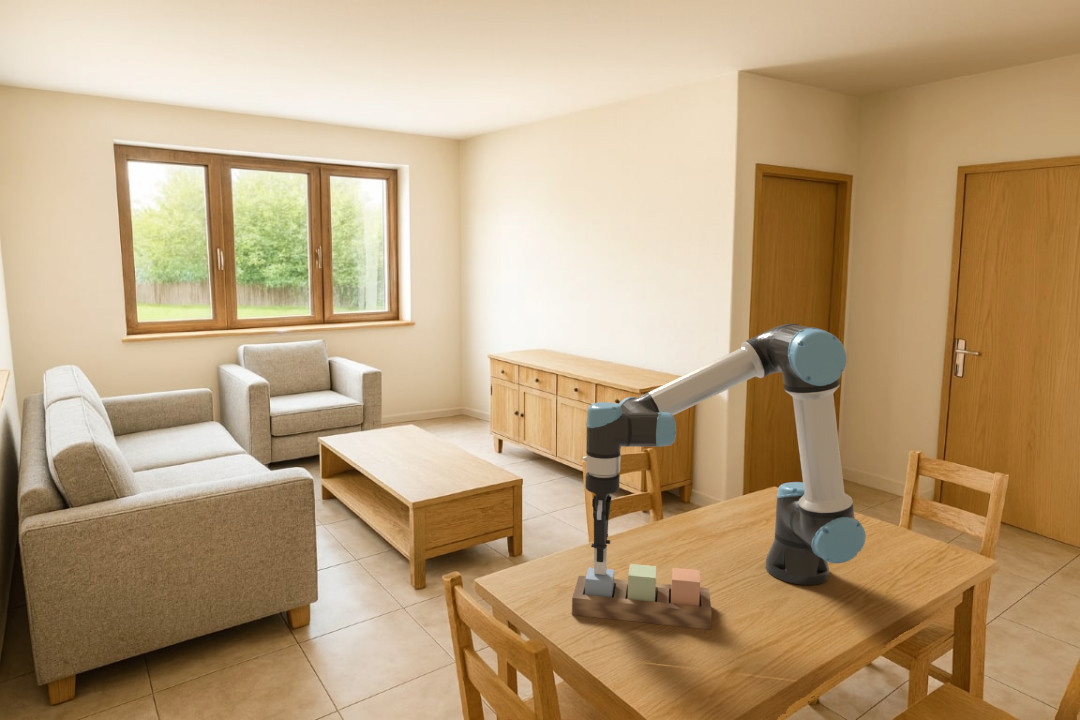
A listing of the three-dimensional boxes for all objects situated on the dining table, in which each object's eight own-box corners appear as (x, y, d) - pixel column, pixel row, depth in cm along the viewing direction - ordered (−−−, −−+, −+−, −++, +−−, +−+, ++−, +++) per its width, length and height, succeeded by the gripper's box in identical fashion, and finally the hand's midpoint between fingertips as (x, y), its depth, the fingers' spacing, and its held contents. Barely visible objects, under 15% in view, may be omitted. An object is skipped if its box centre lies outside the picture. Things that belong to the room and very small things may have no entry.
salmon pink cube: (697, 599, 158) (699, 570, 157) (698, 612, 152) (700, 582, 151) (670, 596, 159) (672, 567, 158) (670, 609, 153) (672, 579, 152)
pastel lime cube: (655, 595, 159) (656, 566, 158) (654, 607, 154) (655, 578, 153) (628, 592, 161) (629, 563, 160) (627, 605, 155) (628, 575, 154)
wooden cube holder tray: (708, 604, 160) (709, 588, 159) (710, 629, 149) (711, 612, 149) (578, 591, 166) (578, 575, 165) (571, 614, 155) (572, 597, 154)
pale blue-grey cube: (613, 598, 161) (614, 569, 160) (611, 610, 156) (612, 581, 155) (587, 595, 163) (588, 567, 162) (584, 608, 157) (585, 578, 156)
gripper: (589, 462, 161) (587, 559, 165) (582, 480, 149) (579, 584, 152) (621, 465, 160) (618, 562, 164) (617, 483, 147) (614, 587, 151)
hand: (600, 572), depth 158 cm, fingers closed
